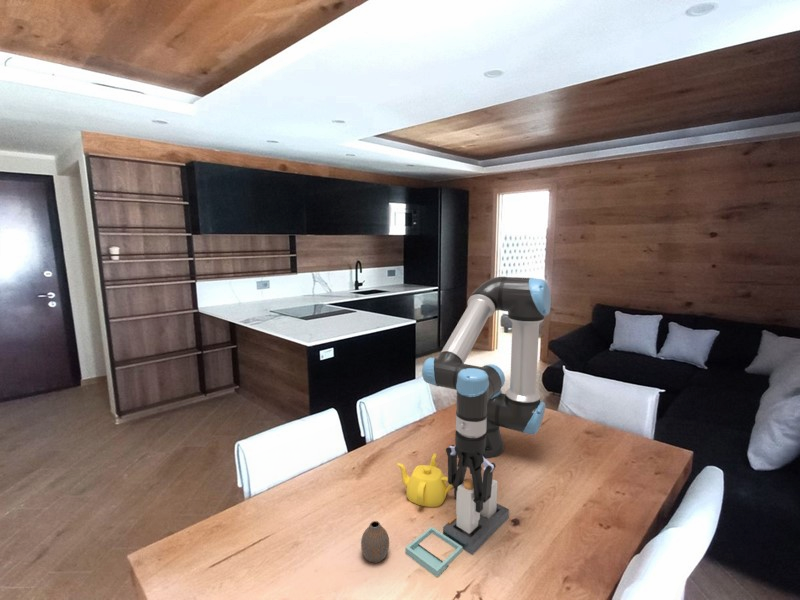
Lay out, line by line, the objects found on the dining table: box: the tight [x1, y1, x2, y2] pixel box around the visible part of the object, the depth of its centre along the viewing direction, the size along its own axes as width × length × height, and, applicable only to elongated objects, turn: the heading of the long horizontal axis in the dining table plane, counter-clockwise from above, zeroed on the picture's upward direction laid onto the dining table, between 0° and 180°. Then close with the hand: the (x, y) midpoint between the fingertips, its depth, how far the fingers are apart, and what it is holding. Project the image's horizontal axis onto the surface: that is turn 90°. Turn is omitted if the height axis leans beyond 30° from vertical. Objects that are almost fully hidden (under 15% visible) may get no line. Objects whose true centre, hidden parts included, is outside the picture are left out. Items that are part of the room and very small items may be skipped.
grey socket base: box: [442, 502, 510, 556], centre depth 105 cm, size 9×18×4 cm, turn 136°
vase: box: [360, 520, 390, 564], centre depth 95 cm, size 7×7×9 cm
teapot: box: [396, 453, 454, 508], centre depth 117 cm, size 14×13×10 cm
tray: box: [404, 526, 464, 578], centre depth 97 cm, size 10×10×2 cm
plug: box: [456, 478, 478, 534], centre depth 100 cm, size 4×4×12 cm
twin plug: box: [480, 476, 499, 520], centre depth 107 cm, size 4×4×12 cm
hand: (467, 516), depth 101 cm, fingers closed on plug, 4 cm apart
